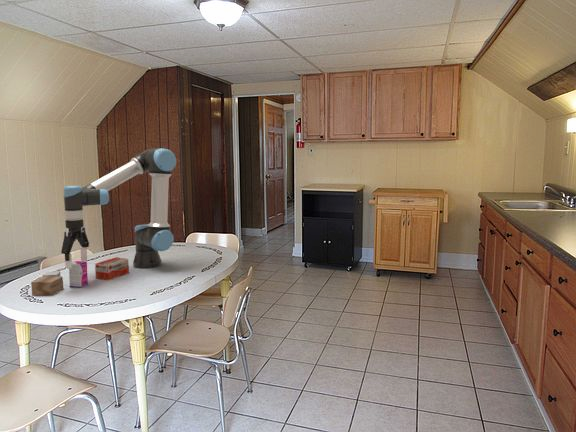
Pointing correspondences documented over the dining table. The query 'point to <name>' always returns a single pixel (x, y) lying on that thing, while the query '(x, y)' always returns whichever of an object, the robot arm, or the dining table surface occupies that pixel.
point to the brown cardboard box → (47, 285)
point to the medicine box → (111, 268)
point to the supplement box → (78, 274)
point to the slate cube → (52, 274)
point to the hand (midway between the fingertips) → (76, 264)
